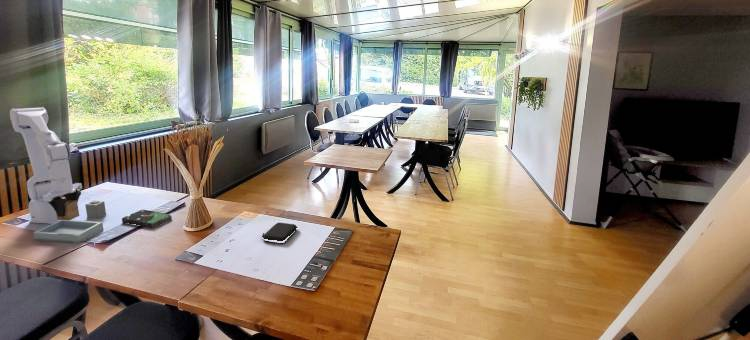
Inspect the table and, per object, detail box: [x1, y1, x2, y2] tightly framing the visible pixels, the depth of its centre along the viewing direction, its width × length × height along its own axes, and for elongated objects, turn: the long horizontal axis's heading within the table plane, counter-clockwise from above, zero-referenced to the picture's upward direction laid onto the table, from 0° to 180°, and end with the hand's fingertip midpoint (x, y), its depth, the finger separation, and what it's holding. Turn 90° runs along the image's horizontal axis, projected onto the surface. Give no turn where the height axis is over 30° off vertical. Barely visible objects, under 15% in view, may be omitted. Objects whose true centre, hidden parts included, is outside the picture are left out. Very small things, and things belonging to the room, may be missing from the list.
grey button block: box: [84, 200, 107, 220], centre depth 158 cm, size 4×4×6 cm
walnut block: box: [56, 200, 80, 221], centre depth 140 cm, size 4×4×6 cm
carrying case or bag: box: [261, 222, 298, 241], centre depth 151 cm, size 11×3×15 cm
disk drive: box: [121, 209, 173, 229], centre depth 157 cm, size 10×3×15 cm
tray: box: [33, 219, 104, 245], centre depth 142 cm, size 16×12×3 cm
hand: (67, 213), depth 140 cm, fingers closed on walnut block, 4 cm apart
